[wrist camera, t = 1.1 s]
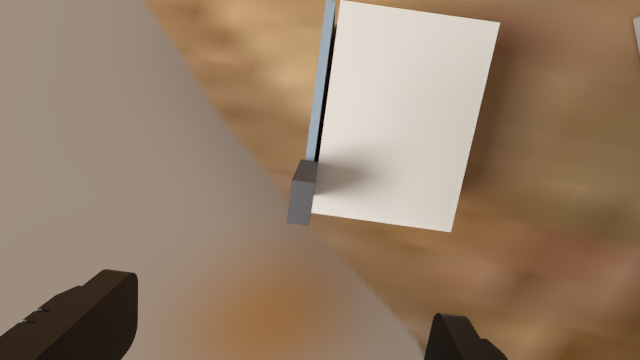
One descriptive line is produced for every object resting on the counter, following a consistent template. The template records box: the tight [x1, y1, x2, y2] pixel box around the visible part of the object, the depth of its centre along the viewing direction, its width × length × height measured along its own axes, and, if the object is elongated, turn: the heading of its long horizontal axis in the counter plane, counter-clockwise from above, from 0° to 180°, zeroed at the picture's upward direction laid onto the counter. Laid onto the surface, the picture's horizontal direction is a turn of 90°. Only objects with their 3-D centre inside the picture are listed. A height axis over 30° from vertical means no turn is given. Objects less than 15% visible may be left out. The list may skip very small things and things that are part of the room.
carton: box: [311, 0, 500, 232], centre depth 29 cm, size 14×10×10 cm
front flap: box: [287, 0, 336, 226], centre depth 26 cm, size 14×1×16 cm, turn 172°
